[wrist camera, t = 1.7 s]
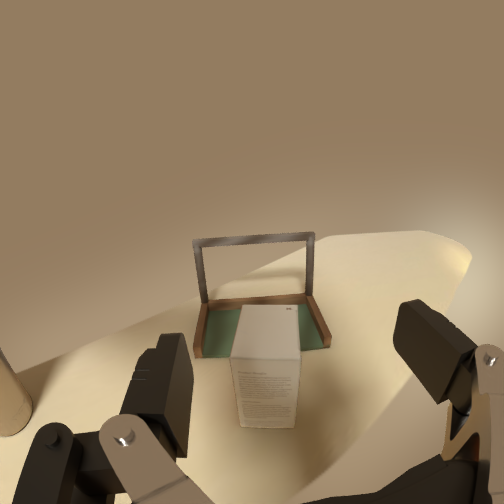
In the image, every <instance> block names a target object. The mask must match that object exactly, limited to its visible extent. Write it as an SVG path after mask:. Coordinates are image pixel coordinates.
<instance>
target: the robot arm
mask: <svg viewBox="0 0 504 504" xmlns="http://www.w3.org/2000/svg"><path fill="white" fill-rule="evenodd" d="M393 344H394V347H395V349H396V351H397V352H398V354H399V355H400V356H401V357H402V359H403V360H404V361H405V362H406V364H407V365H408V366H409V368H410V369H411V370H412V371H413V373H414V374H415V375H416V377H417V378H418V379H419V380H420V382H421V383H422V385H423V386H424V387H425V388H426V390H427V391H428V392H429V394H430V395H431V396H432V398H433V399H434V401H435V402H436V403H437V404H440V403H441V402H444V401H446V400H448V399H449V400H450V401H451V402H450V404H449V406H448V409H447V421H446V431H445V439H444V446H443V450H442V453H441V454H438V455H436V456H435V457H433V458H431V459H429V460H428V461H425V462H423V463H421V464H419V465H417V466H415V467H413V468H411V469H409V470H408V471H406V472H405V473H404V474H403V475H401V476H400V477H398V478H397V479H395V480H394V481H393V482H391V483H390V484H388V485H387V486H386V487H384V488H382V489H381V490H379V491H377V492H375V493H369V494H361V495H352V496H340V497H329V498H325V499H321V500H317V501H312V502H307V503H303V504H504V352H503V351H502V350H501V349H500V348H498V347H496V346H494V345H490V344H485V345H481V346H479V347H478V346H477V345H476V344H475V343H474V342H473V341H472V340H471V339H470V338H468V337H467V336H466V335H465V334H464V333H463V332H462V331H461V330H460V329H458V328H456V327H455V325H454V324H453V323H452V322H449V320H448V319H447V318H446V317H445V316H443V315H442V314H441V313H439V312H437V311H435V310H432V309H431V308H430V307H429V306H427V305H426V304H425V303H424V302H423V301H421V300H420V299H416V300H412V301H408V302H403V303H402V304H401V305H400V307H399V311H398V316H397V321H396V325H395V330H394V334H393ZM193 383H194V377H193V368H192V364H191V360H190V357H189V353H188V349H187V345H186V341H185V337H184V335H183V333H169V334H161V335H160V337H159V340H158V343H157V346H156V348H150V349H147V350H146V351H145V352H144V353H143V354H142V355H141V356H140V357H139V359H138V361H137V364H136V367H135V371H134V372H133V375H132V380H131V381H130V384H129V387H128V390H127V392H126V395H125V398H124V401H123V404H122V407H121V410H120V413H119V415H117V416H114V417H112V418H110V419H108V420H107V421H106V422H105V423H104V424H103V425H102V427H101V429H100V431H95V432H88V433H79V434H73V433H72V431H71V430H70V429H69V428H68V427H67V426H66V425H64V424H62V423H57V422H55V423H49V424H46V425H44V426H43V427H41V428H40V429H39V430H38V432H37V433H36V435H35V437H34V439H33V442H32V444H31V447H30V450H29V452H28V455H27V458H26V460H25V463H24V466H23V469H22V472H21V475H20V478H19V481H18V484H17V488H16V491H15V494H14V498H13V502H12V504H114V501H115V494H118V493H128V495H129V497H130V498H131V500H132V503H131V504H214V503H213V502H212V501H211V500H210V499H209V498H208V497H207V495H206V494H205V493H204V492H203V491H202V490H201V489H200V488H199V487H198V486H197V485H196V484H195V483H194V482H193V481H192V480H191V479H190V478H189V477H188V476H186V475H185V474H184V473H183V471H182V470H181V469H180V468H179V467H178V466H177V464H176V458H187V450H188V437H189V425H190V413H191V403H192V393H193ZM31 413H32V400H31V398H30V396H29V394H28V393H27V391H26V390H25V388H24V387H23V385H22V384H21V382H20V381H19V379H18V378H17V376H16V374H15V373H14V371H13V370H12V368H11V366H10V364H9V363H8V361H7V359H6V358H5V356H4V354H3V352H2V350H1V348H0V436H10V435H13V434H15V433H17V432H19V431H20V430H21V429H22V428H23V427H24V426H25V425H26V424H27V422H28V421H29V418H30V416H31Z"/></svg>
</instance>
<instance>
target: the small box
mask: <svg viewBox="0 0 504 504" xmlns="http://www.w3.org/2000/svg"><path fill="white" fill-rule="evenodd" d="M301 360H302V357H301V351H300V340H299V325H298V305H242V308H241V312H240V316H239V320H238V324H237V329H236V333H235V337H234V341H233V345H232V349H231V353H230V364H231V371H232V377H233V384H234V390H235V395H236V402H237V409H238V414H239V420H240V426H241V427H252V428H294V427H295V419H296V411H297V401H298V392H299V382H300V372H301Z"/></svg>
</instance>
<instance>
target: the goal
mask: <svg viewBox="0 0 504 504" xmlns="http://www.w3.org/2000/svg"><path fill="white" fill-rule="evenodd" d="M305 240H307V244H306V286H305V293H301V294H290V295H278V296H265V297H251V298H236V299H219V300H208V294H207V287H206V279H205V272H204V264H203V256H202V248H201V247H214V246H229V245H243V244H259V243H274V242H290V241H305ZM314 240H315V233H314V232H299V233H282V234H265V235H251V236H235V237H221V238H208V239H207V238H206V239H194V240H193V241H192V245H193V248H194V256H195V263H196V270H197V277H198V284H199V290H200V297H201V303H202V304H201V309H200V314H199V318H198V323H197V328H196V333H195V338H194V343H193V350H194V355H195V358H221V357H230V353H231V349H232V345H233V341H234V337H235V333H236V329H237V324H238V320H239V316H240V312H241V308H242V305H298V325H299V340H300V351H307V350H315V349H322V348H329V347H330V345H331V338H332V335H331V333H330V331H329V329H328V327H327V325H326V323H325V321H324V318H323V316H322V314H321V312H320V310H319V308H318V306H317V304H316V302H315V300H314V298H313V296H312V293H313V271H314Z"/></svg>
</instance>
